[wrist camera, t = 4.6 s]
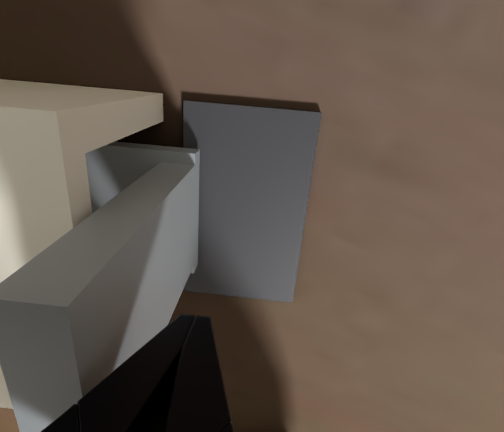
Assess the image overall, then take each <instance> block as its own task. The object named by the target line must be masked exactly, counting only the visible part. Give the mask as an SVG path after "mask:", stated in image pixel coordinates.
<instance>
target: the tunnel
mask: <svg viewBox="0 0 504 432" xmlns="http://www.w3.org/2000/svg"><path fill="white" fill-rule="evenodd" d="M320 119H321V112H315V111H304V110H293V109H281V108H270V107H259V106H247V105H236V104H224V103H213V102H202V101H190V100H184V101H183V140H184V148H191V149H200V164H199V225H198V265H197V267H196V270H195V272H194V274H193V273H190V275H189V277H188V280H187V282H186V284H185V287H184V291H189V292H199V293H208V294H217V295H227V296H236V297H245V298H255V299H264V300H273V301H282V302H293V295H294V289H295V282H296V276H297V269H298V263H299V256H300V250H301V243H302V236H303V230H304V223H305V217H306V210H307V204H308V197H309V191H310V184H311V178H312V171H313V165H314V158H315V151H316V145H317V138H318V132H319V125H320ZM160 122H163V93H153V92H142V91H131V90H119V89H108V88H96V87H85V86H73V85H62V84H50V83H39V82H28V81H16V80H5V79H0V283H1V282H2V281H4V280H5V279H6V278H8V277H9V276H10V275H12V274H13V273H14V272H15V271H17V270H18V269H19V268H21V267H22V266H23V265H25V264H26V263H27V262H29V261H30V260H31V259H33V258H34V257H35V256H37V255H38V254H39V253H41V252H42V251H43V250H45V249H46V248H47V247H49V246H50V245H51V244H53V243H54V242H55V241H57V240H58V239H59V238H61V237H62V236H63V235H65V234H66V233H67V232H69V231H70V230H71V229H73V228H74V227H75V226H77V225H78V224H79V223H80V222H82V221H83V220H84V219H86V218H87V217H88V216H90V215H91V214H92V207H91V199H90V190H89V182H88V173H87V165H86V156H85V153H88V152H90V151H93V150H95V149H98V148H100V147H102V146H105V145H107V144H110V143H112V142H114V141H117V140H119V139H122V138H124V137H127V136H129V135H131V134H134V133H136V132H139V131H141V130H143V129H146V128H148V127H151V126H153V125H156V124H158V123H160ZM0 407H2V408H11V409H13V406H12V403H11V399H10V396H9V392H8V389H7V386H6V382H5V379H4V375H3V372H2V368H1V365H0Z"/></svg>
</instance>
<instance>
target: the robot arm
mask: <svg viewBox="0 0 504 432" xmlns="http://www.w3.org/2000/svg"><path fill="white" fill-rule="evenodd" d="M41 432H235V431H234V426H233V424H232V417H231V413H230V408H229V403H228V398H227V393H226V389H225V384H224V379H223V374H222V369H221V365H220V360H219V355H218V350H217V345H216V341H215V336H214V331H213V326H212V322H211V318H210V317H207V316H195V315H189V314H181V315H179V316H178V317H177V318H175V319H174V320H173V321H172V322H171V323H169V324H168V325H167V326H166V327H165V328H164V329H162V330H161V331H160V332H159V333H158V334H156V335H155V336H154V337H153V338H152V339H151V340H149V341H148V342H147V343H146V344H145V345H143V346H142V347H141V348H140V349H139V350H138V351H136V352H135V353H134V354H133V355H132V356H130V357H129V358H128V359H127V360H126V361H125V362H123V363H122V364H121V365H120V366H119V367H117V368H116V369H115V370H114V371H113V372H112V373H110V374H109V375H108V376H107V377H106V378H104V379H103V380H102V381H101V382H100V383H99V384H97V385H96V386H95V387H94V388H93V389H91V390H90V391H89V392H88V393H87V394H86V395H84V396H83V397H82V398H81V399H80V400H78V402H77V404H74V405H72V406H71V407H70V408H69V409H68V410H66V411H65V412H64V413H63V414H62V415H61V416H59V417H58V418H57V419H56V420H54V421H53V422H52V423H51V424H49V425H48V426H47V427H46V428H44V429H43V430H42V431H41Z"/></svg>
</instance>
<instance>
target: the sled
mask: <svg viewBox="0 0 504 432" xmlns="http://www.w3.org/2000/svg"><path fill="white" fill-rule="evenodd" d="M85 156H86V165H87V173H88V182H89V190H90V199H91V207H92V214H91V215H90V216H88V217H87V218H86V219H84V220H83V221H82V222H80V223H79V224H78V225H77V226H75V227H74V228H73V229H71V230H70V231H69V232H67V233H66V234H65V235H63V236H62V237H61V238H59V239H58V240H57V241H55V242H54V243H53V244H51V245H50V246H49V247H47V248H46V249H45V250H43V251H42V252H41V253H39V254H38V255H37V256H35V257H34V258H33V259H31V260H30V261H29V262H27V263H26V264H25V265H23V266H22V267H21V268H19V269H18V270H17V271H15V272H14V273H13V274H12V275H10V276H9V277H8V278H6V279H5V280H4V281H2V282H1V283H0V365H1V368H2V372H3V375H4V379H5V382H6V386H7V389H8V392H9V396H10V399H11V403H12V406H13V410H14V413H15V416H16V420H17V423H18V427H19V430H20V432H41V431H42V430H43V429H44V428H46V427H47V426H48V425H49V424H51V423H52V422H53V421H54V420H56V419H57V418H58V417H59V416H61V415H62V414H63V413H64V412H65V411H66V410H68V409H69V408H70V407H71V406H72V405H74V404H77V402H78V400H80V399H81V398H82V397H83V396H84V395H86V394H87V393H88V392H89V391H90V390H91V389H93V388H94V387H95V386H96V385H97V384H99V383H100V382H101V381H102V380H103V379H104V378H106V377H107V376H108V375H109V374H110V373H112V372H113V371H114V370H115V369H116V368H117V367H119V366H120V365H121V364H122V363H123V362H125V361H126V360H127V359H128V358H129V357H130V356H132V355H133V354H134V353H135V352H136V351H138V350H139V349H140V348H141V347H142V346H143V345H145V344H146V343H147V342H148V341H149V340H151V339H152V338H153V337H154V336H155V335H156V334H158V333H159V332H160V331H161V330H162V329H164V328H165V327H166V326H167V325H168V323H169V321H170V319H171V316H172V314H173V312H174V309H175V307H176V305H177V303H178V300H179V298H180V296H181V293H182V291H183V289H184V287H185V284H186V282H187V280H188V277H189V275H190V273H193V274H194V272H195V270H196V267H197V265H198V225H199V164H200V149H191V148H180V147H169V146H158V145H147V144H137V143H126V142H115V141H114V142H112V143H110V144H107V145H105V146H102V147H100V148H98V149H95V150H93V151H90V152H88V153H85Z"/></svg>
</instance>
